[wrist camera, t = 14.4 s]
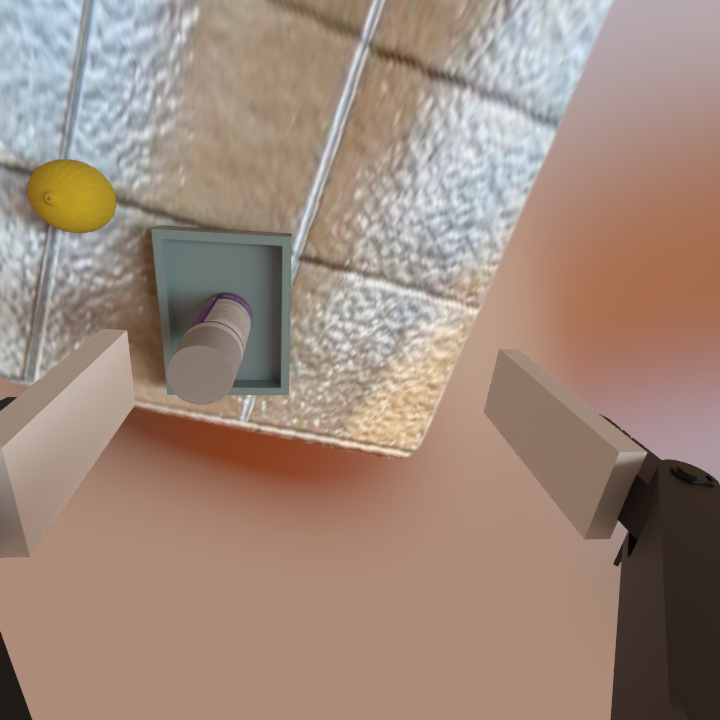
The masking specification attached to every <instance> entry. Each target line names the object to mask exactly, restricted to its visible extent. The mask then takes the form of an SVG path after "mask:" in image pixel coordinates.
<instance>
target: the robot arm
mask: <svg viewBox="0 0 720 720" xmlns="http://www.w3.org/2000/svg"><path fill="white" fill-rule="evenodd" d="M134 405H135V398H134V389H133V380H132V371H131V362H130V353H129V344H128V335H127V330H112V329H101V330H100V331H99V332H97V333H96V334H95V335H94V336H92V337H91V338H90V339H89V340H87V341H86V342H85V343H84V344H83V345H81V346H80V347H79V348H78V349H76V350H75V351H74V352H73V353H71V354H70V355H69V356H68V357H67V358H65V359H64V360H63V361H62V362H60V363H59V364H58V365H57V366H55V367H54V368H53V369H52V370H51V371H49V372H48V373H47V374H46V375H44V376H43V377H42V378H41V379H39V380H38V381H37V382H36V383H35V384H33V385H32V386H31V387H30V388H28V389H27V390H26V391H25V392H24V393H22V394H21V395H20V396H19V397H7V398H5V399H3V400H0V558H5V557H30V556H31V554H32V553H33V552H34V550H35V549H36V547H37V546H38V544H39V543H40V541H41V540H42V539H43V537H44V536H45V534H46V533H47V531H48V530H49V528H50V527H51V525H52V524H53V523H54V521H55V520H56V518H57V517H58V515H59V514H60V512H61V511H62V510H63V508H64V506H65V505H66V504H67V502H68V501H69V499H70V498H71V496H72V495H73V494H74V492H75V491H76V489H77V488H78V486H79V485H80V483H81V482H82V480H83V479H84V478H85V476H86V474H87V473H88V472H89V470H90V469H91V467H92V466H93V464H94V463H95V462H96V460H97V458H98V457H99V456H100V454H101V453H102V451H103V450H104V449H105V447H106V446H107V444H108V443H109V441H110V440H111V438H112V437H113V435H114V434H115V433H116V431H117V430H118V428H119V427H120V425H121V424H122V422H123V421H124V419H125V418H126V417H127V415H128V414H129V412H130V411H131V409H132V408H133V406H134ZM484 413H485V414H486V415H487V417H488V418H489V419H490V420H491V422H492V423H493V424H494V426H495V427H496V428H497V429H498V431H499V432H500V433H501V434H502V436H503V437H504V438H505V440H506V441H507V442H508V443H509V445H510V446H511V447H512V448H513V450H514V451H515V452H516V454H517V455H518V456H519V457H520V459H521V460H522V461H523V462H524V464H525V465H526V466H527V467H528V469H529V470H530V471H531V472H532V474H533V475H534V476H535V478H536V479H537V480H538V481H539V483H540V484H541V485H542V487H543V488H544V489H545V490H546V491H547V493H548V494H549V495H550V497H551V498H552V499H553V501H554V502H555V503H556V504H557V506H558V507H559V508H560V509H561V511H562V512H563V513H564V514H565V516H566V517H567V518H568V520H569V521H570V522H571V523H572V525H573V526H574V527H575V528H576V530H577V531H578V532H579V533H580V535H581V536H582V537H583V539H610V538H611V535H612V533H613V530H614V528H615V526H616V524H617V521H618V520H619V521H620V522H621V524H623V526H625V528H626V529H627V530H628V533H627V535H626V537H625V540H624V541H623V544H622V546H621V548H620V551H619V553H618V555H617V557H616V559H615V561H614V565H616V566H618V565H619V564H620V562H622V564H621V578H620V593H619V607H618V622H617V623H618V624H617V636H616V650H615V665H614V679H613V695H612V708H611V720H720V484H719V483H718V481H717V480H716V479H714V477H712V476H711V475H710V474H708V473H706V472H705V471H703V470H701V469H699V468H697V467H695V466H693V465H690V464H687V463H684V462H680V461H677V460H661V459H659V458H658V457H657V456H656V455H654V454H653V453H652V452H650V451H649V450H648V449H647V448H645V447H644V446H643V445H642V444H640V443H639V442H638V441H636V440H635V439H634V438H631V437H630V435H629V434H628V433H626V432H625V431H624V430H621V428H620V427H619V426H617V425H616V424H615V423H613V422H612V421H611V420H610V419H608V418H606V417H604V416H602V415H601V414H599V413H597V412H596V411H595V410H593V409H592V408H591V407H589V406H588V405H587V404H586V403H584V402H583V401H582V400H581V399H580V398H578V397H577V396H576V395H575V394H573V393H572V392H571V391H569V390H568V389H567V388H566V387H564V386H563V385H562V384H560V383H559V382H558V381H557V380H556V379H554V378H553V377H552V376H551V375H549V374H548V373H547V372H546V371H544V370H543V369H542V368H541V367H539V366H538V365H537V364H536V363H534V362H533V361H532V360H530V359H529V358H528V357H527V356H525V355H524V354H523V353H522V352H520V351H519V350H515V349H514V350H513V349H499V353H498V357H497V361H496V365H495V369H494V373H493V377H492V381H491V385H490V390H489V394H488V397H487V401H486V406H485V409H484ZM0 720H32V718H31V715H30V713H29V710H28V707H27V704H26V701H25V698H24V696H23V693H22V690H21V687H20V685H19V682H18V679H17V677H16V674H15V671H14V668H13V666H12V663H11V660H10V657H9V654H8V652H7V649H6V646H5V644H4V641H3V638H2V635H1V632H0Z"/></svg>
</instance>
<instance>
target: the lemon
mask: <svg viewBox="0 0 720 720" xmlns="http://www.w3.org/2000/svg"><path fill="white" fill-rule="evenodd" d="M27 192H28V197H29V201H30V203H31V205H32V207H33V209H34V210H35V212H36V213H37V214H38V215H39V216H40V217H41V218H42V219H43V220H44V221H45V222H47V223H48V224H50V225H52V226H53V227H55V228H58V229H61V230H64V231H67V232H73V233H86V232H93V231H95V230H98V229H100V228H102V227H103V226H105V225H106V224H107V223H108V222H109V221H110V220H111V218H112V217H113V215H114V212H115V209H116V197H115V193H114V190H113V188H112V186H111V184H110V182H109V181H108V180H107V179H106V178H105V176H104V175H103V174H101V173H100V172H99V171H98V170H96V169H95V168H93V167H91V166H89V165H87V164H85V163H83V162H79V161H75V160H55V161H51V162H48V163H45V164H44V165H42V166H40V167H39V168H37V169H36V170H35V172H34V173H33V174H32V175H31V177H30V180H29V183H28V191H27Z"/></svg>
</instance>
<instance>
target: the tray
mask: <svg viewBox="0 0 720 720" xmlns="http://www.w3.org/2000/svg"><path fill="white" fill-rule="evenodd" d="M151 233H152V243H153V253H154V263H155V274H156V284H157V294H158V304H159V315H160V325H161V335H162V346H163V356H164V366H165V376H166V369H167V365H168V362H169V360H170V359H171V357H172V355H173V354H174V352H175V350H176V349H177V347H178V345H179V344H180V342H181V340H182V339H183V337H184V335H185V334H186V332H187V331H188V329H189V328H190V327H191V325H192V324H193V322H194V321H195V320H196V318H197V317H198V315H199V314H200V312H201V311H202V310H203V308H204V307H205V305H206V304H207V303H208V301H209V300H210V299H211V298H212V297H213V296H215V295H217V294H219V293H223V292H232V293H236V294H238V295H240V296H242V297H243V298H245V299H246V300H247V301H248V303H249V304H250V306H251V308H252V311H253V320H252V325H251V328H250V332H249V336H248V339H247V343H246V347H245V350H244V354H243V357H242V361H241V363H240V366H239V369H238V372H237V375H236V377H235V380H234V383H233V386H232V388H231V390H230V392H229V393H228V394H227V395H289V347H290V291H291V234H284V233H269V232H253V231H238V230H222V229H206V228H191V227H175V226H158V227H155V228H152V229H151ZM166 387H167V395H176V394H175V393H174V392H173V390H172V389H171V388H170V386H169V384H168V381H167V377H166Z"/></svg>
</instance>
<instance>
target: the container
mask: <svg viewBox="0 0 720 720" xmlns="http://www.w3.org/2000/svg"><path fill="white" fill-rule="evenodd" d="M252 320H253V311H252V308H251V306H250V304H249V303H248V301H247V300H246V299H245V298H243V297H242V296H240V295H238V294H236V293H232V292H223V293H219V294H217V295H215V296H213V297H212V298H211V299H210V300H209V301H208V303H207V304H206V305H205V307H204V308H203V310H202V311H201V312H200V314H199V315H198V317H197V318H196V320H195V321H194V322H193V324H192V325H191V327H190V328H189V329H188V331H187V332H186V334H185V335H184V337H183V339H182V340H181V342H180V344H179V345H178V347H177V349H176V350H175V352H174V354H173V355H172V357H171V359H170V360H169V362H168V365H167V369H166V377H167V381H168V384H169V386H170V388H171V389H172V390H173V392H174V393H175V394H176V395H177V396H179V397H180V398H181V399H183V400H185V401H187V402H190V403H194V404H202V405H204V404H211V403H215V402H217V401H219V400H221V399H222V398H224V397H225V396H226V395H227V394H228V393H229V392H230V390H231V388H232V386H233V383H234V380H235V377H236V375H237V372H238V369H239V366H240V363H241V361H242V357H243V354H244V350H245V347H246V343H247V339H248V336H249V332H250V328H251V325H252Z"/></svg>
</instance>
